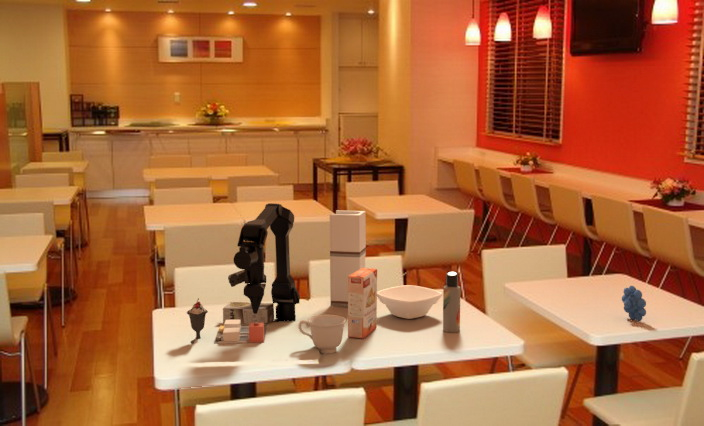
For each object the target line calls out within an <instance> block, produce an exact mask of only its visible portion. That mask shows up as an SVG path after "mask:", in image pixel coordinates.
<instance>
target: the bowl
mask: <svg viewBox="0 0 704 426" xmlns="http://www.w3.org/2000/svg"><path fill="white" fill-rule="evenodd" d="M441 297H443V293H442V292H441V291H438V290H436V289H432V288H430V287H425V286H419V285H414V284H413V285H412V284H406V285H398V286H397V285H396V286H392V287H388V288H384V289H383V288H382V289H381V290H377V299H378V300H379V301H380V303H382V304H383V305H385V307H386V308H387V310H388V311H389V313H390V314H391V315H393V316H395V317H399V318H403V319H408V320H410V319H417V318H420V317H424V316H426V315H427V314H428V313H429V311H430V310H431V309H432V307H433V306H434V305H436V304H437V303H438V302H439V300H440V299H441Z"/></svg>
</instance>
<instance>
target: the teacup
mask: <svg viewBox="0 0 704 426" xmlns="http://www.w3.org/2000/svg"><path fill="white" fill-rule="evenodd" d="M346 322H347V319H346V318H345V317H344V316H341V315H338V314H319V315H314V316H311V317H310V318H308V319H307V320H306V319H302V320H300V321H299V323H298V330H299V332H300V333H301V334H303V335H306V336H307V337H309V338H310V339H311V341H312V344H313V345H314V346H315V347H316V348H318V349H319V353H320V354H333V353H335V352H337V348H338V347H339V346H340V345H341V343H342V341H343V332H344V327H345V323H346ZM303 324H305V325H306V328H310V333H311V334H310V333H309V332H307V331H305V330H304V329H303V328H302V325H303Z"/></svg>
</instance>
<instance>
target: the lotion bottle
mask: <svg viewBox="0 0 704 426" xmlns="http://www.w3.org/2000/svg"><path fill="white" fill-rule="evenodd" d="M445 275H446V277H445V279H446V280H445V285H444V286H443V287H442V288H443V289H442V290H443V291H442V292H443V293H442V303H443V304H442V330H443V332H446V333H451V334H452V333H458V332H460V330H461V286H459V275H458V273H457V272H456V271H449V272H446V274H445Z"/></svg>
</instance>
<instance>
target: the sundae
mask: <svg viewBox="0 0 704 426" xmlns="http://www.w3.org/2000/svg"><path fill="white" fill-rule="evenodd" d="M199 300H200V298H199V297H198V298H197V300H196V303H193V305H192V307H191V309H189V310H187V311H186V315H188V316H189V320H190V327H191V329H192V331H194V332H195V338H194V339H193V340H190V343H191V344H194V343H195V341H196V340H201V339H202V338H201V331H202V330H203V329H204V328H205V321H206V315H207V313H209V311H208V310H207V309H206V308H205V307H204V305H203V304H202V303H201V302H200V301H199Z"/></svg>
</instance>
